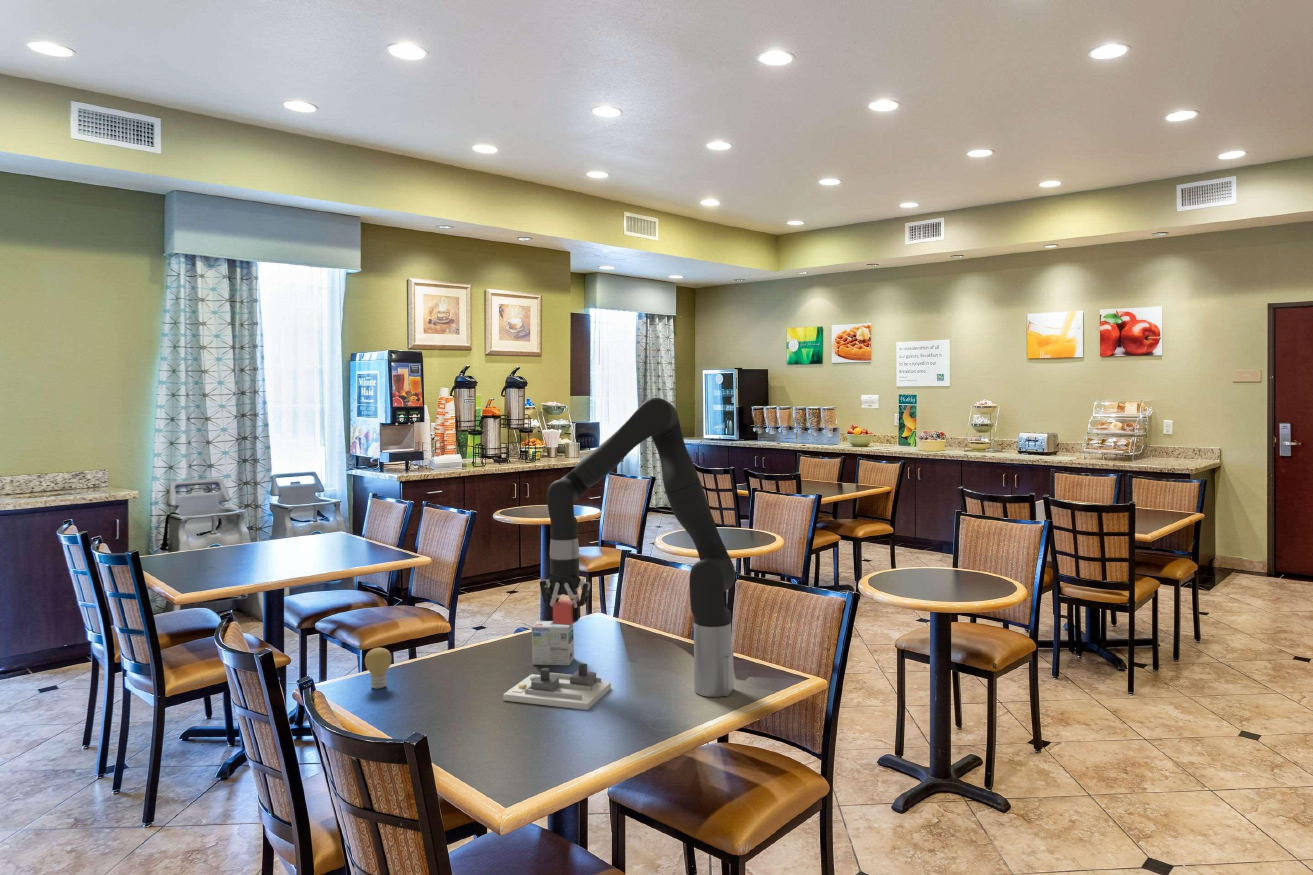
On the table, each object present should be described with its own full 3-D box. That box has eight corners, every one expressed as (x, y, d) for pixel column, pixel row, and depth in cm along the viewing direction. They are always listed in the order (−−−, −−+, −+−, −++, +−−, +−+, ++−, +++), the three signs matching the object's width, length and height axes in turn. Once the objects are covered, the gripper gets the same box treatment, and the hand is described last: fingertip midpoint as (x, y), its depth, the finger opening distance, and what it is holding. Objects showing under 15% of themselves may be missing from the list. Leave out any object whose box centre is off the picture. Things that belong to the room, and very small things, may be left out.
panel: (610, 688, 202) (610, 662, 202) (587, 709, 188) (587, 681, 187) (531, 679, 209) (531, 654, 208) (503, 700, 194) (502, 673, 194)
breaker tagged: (559, 687, 198) (558, 666, 198) (550, 694, 193) (549, 673, 193) (540, 685, 200) (540, 665, 200) (531, 692, 195) (531, 671, 195)
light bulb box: (574, 658, 226) (574, 620, 226) (569, 666, 220) (569, 626, 219) (537, 657, 227) (536, 619, 227) (531, 665, 221) (530, 626, 220)
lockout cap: (578, 620, 211) (578, 601, 211) (570, 625, 206) (570, 605, 206) (561, 618, 213) (560, 600, 212) (553, 623, 208) (552, 604, 208)
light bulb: (360, 689, 203) (359, 649, 203) (379, 681, 209) (378, 643, 208) (378, 693, 200) (377, 653, 200) (397, 684, 206) (396, 646, 205)
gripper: (595, 554, 210) (596, 618, 211) (545, 551, 214) (547, 615, 215) (584, 559, 203) (585, 626, 204) (533, 557, 207) (534, 622, 208)
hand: (565, 620), depth 209 cm, fingers closed on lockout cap, 5 cm apart
